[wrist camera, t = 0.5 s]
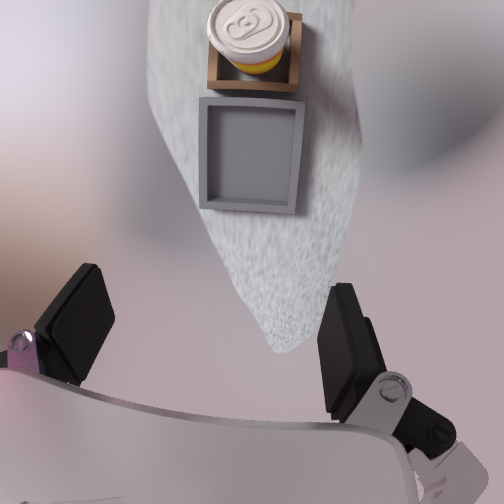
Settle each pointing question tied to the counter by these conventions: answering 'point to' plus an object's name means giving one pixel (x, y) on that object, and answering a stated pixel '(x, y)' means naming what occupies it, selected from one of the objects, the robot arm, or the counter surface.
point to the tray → (249, 153)
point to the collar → (290, 87)
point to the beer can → (249, 33)
